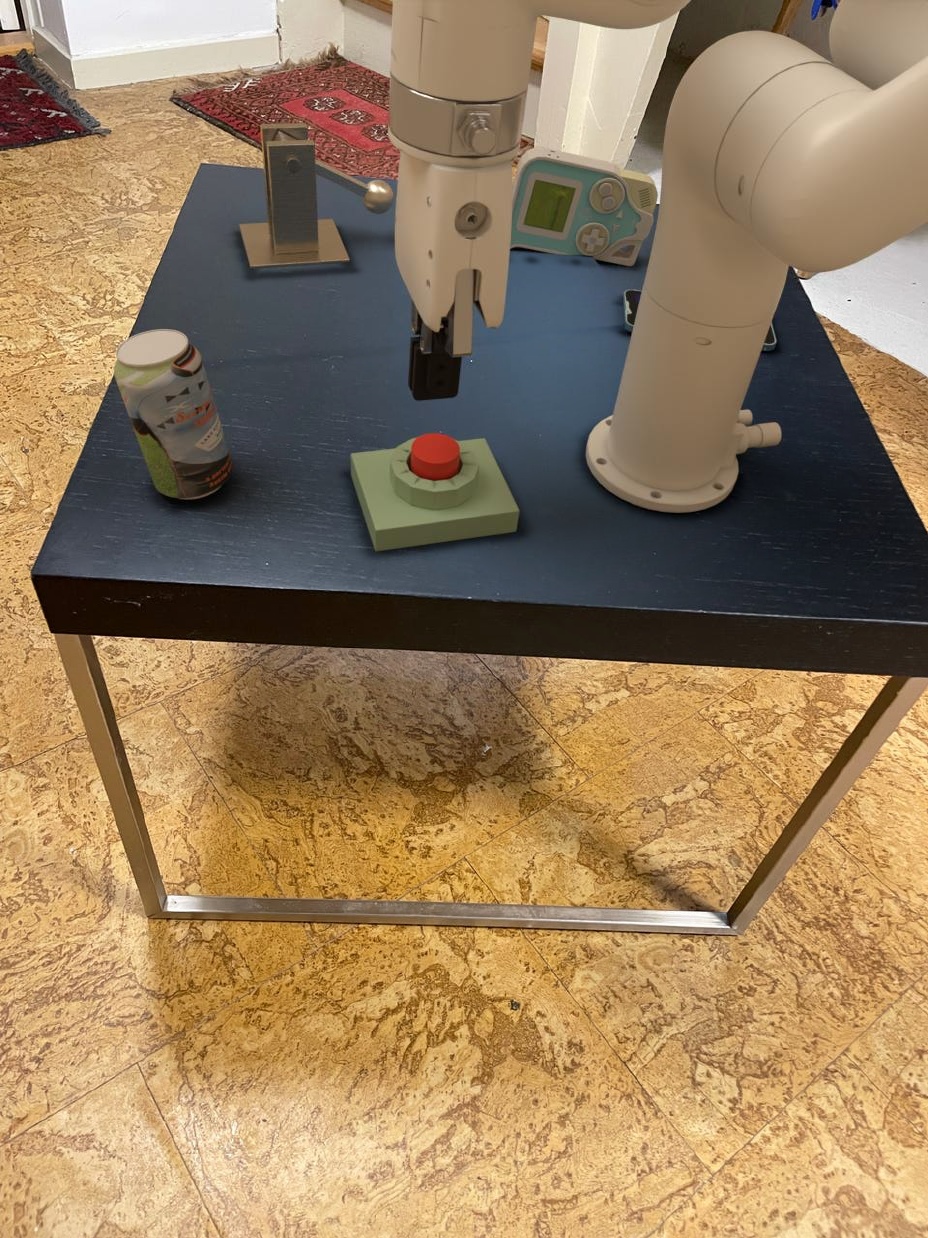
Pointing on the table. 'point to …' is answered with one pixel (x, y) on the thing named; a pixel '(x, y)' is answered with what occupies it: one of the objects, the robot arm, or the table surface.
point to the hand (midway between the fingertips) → (432, 392)
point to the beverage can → (173, 413)
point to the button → (435, 457)
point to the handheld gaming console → (580, 206)
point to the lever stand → (291, 206)
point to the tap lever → (354, 184)
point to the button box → (432, 498)
